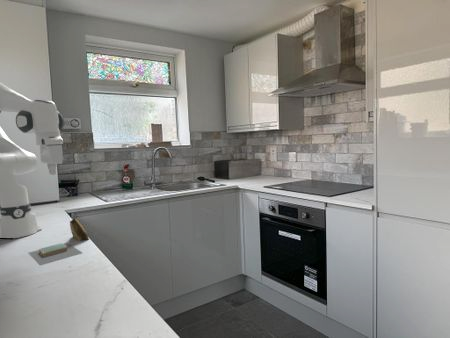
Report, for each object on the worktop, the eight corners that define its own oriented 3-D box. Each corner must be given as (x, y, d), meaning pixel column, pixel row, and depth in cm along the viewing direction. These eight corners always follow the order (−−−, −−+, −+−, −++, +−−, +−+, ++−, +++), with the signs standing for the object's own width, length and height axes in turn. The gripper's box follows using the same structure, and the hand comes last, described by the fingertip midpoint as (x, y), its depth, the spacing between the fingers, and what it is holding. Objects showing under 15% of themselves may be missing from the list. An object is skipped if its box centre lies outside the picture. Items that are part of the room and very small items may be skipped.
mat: (28, 253, 122) (28, 252, 122) (67, 243, 131) (67, 242, 131) (40, 266, 108) (40, 265, 108) (82, 254, 117) (82, 252, 117)
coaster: (38, 248, 121) (43, 253, 116) (61, 243, 126) (66, 246, 121) (39, 252, 121) (44, 256, 116) (62, 246, 126) (67, 250, 121)
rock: (66, 232, 140) (60, 235, 130) (77, 215, 141) (72, 217, 132) (88, 244, 142) (84, 248, 132) (99, 227, 143) (95, 230, 134)
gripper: (34, 141, 134) (38, 173, 135) (45, 140, 118) (50, 177, 120) (51, 140, 138) (54, 172, 139) (64, 139, 122) (68, 175, 124)
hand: (52, 174), depth 130 cm, fingers closed
